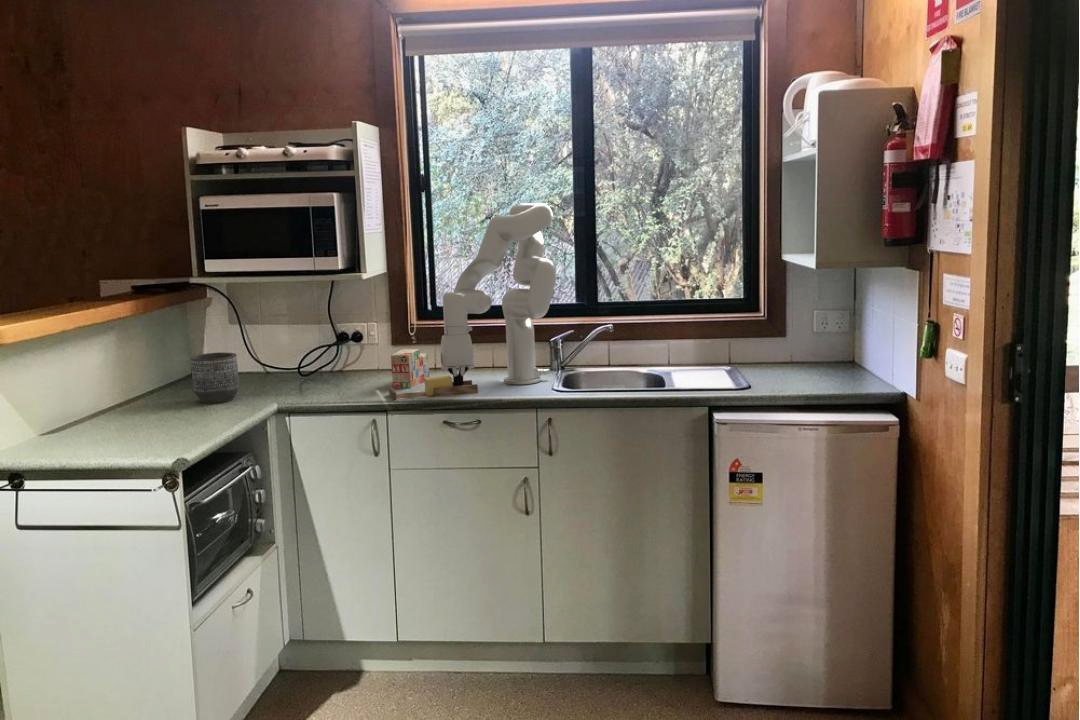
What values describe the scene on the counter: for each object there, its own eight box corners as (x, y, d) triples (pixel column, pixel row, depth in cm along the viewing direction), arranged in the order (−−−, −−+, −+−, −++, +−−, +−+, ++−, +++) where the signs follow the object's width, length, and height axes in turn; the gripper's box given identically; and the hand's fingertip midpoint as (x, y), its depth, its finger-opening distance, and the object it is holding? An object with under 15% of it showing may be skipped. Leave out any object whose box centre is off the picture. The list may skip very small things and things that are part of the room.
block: (449, 390, 306) (448, 375, 305) (452, 393, 301) (452, 378, 301) (425, 393, 304) (424, 377, 303) (428, 395, 299) (427, 380, 298)
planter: (214, 407, 298) (209, 360, 295) (185, 403, 305) (180, 357, 303) (249, 398, 310) (245, 353, 307) (221, 395, 317) (217, 351, 315)
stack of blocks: (412, 379, 335) (410, 344, 333) (429, 379, 334) (428, 344, 332) (392, 391, 314) (390, 354, 312) (410, 391, 313) (408, 354, 311)
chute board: (471, 389, 311) (471, 379, 310) (478, 395, 302) (477, 384, 301) (389, 397, 303) (388, 387, 303) (393, 402, 294) (392, 392, 294)
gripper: (476, 328, 307) (478, 383, 310) (430, 331, 303) (433, 387, 306) (481, 330, 300) (483, 387, 303) (435, 334, 296) (437, 391, 299)
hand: (458, 387), depth 304 cm, fingers closed
